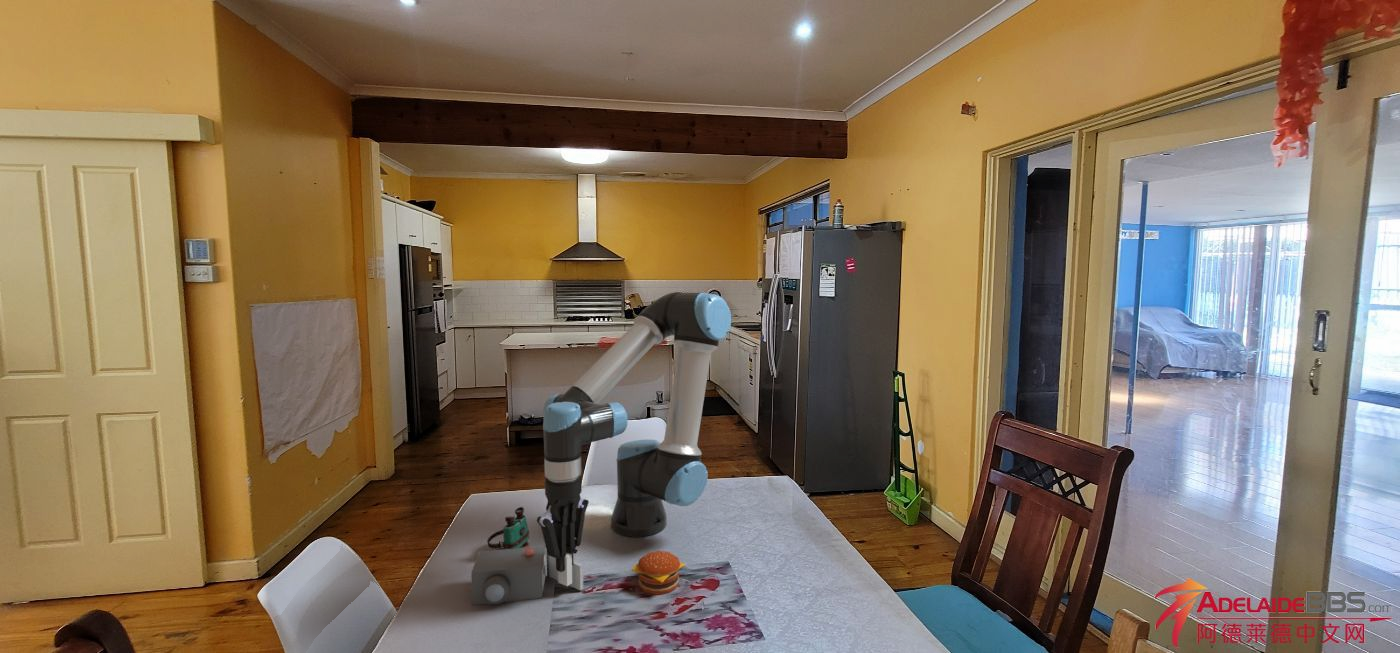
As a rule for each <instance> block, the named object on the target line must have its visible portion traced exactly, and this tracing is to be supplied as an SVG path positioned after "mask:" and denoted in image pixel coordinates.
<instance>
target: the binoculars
mask: <svg viewBox="0 0 1400 653" xmlns="http://www.w3.org/2000/svg"><path fill="white" fill-rule="evenodd" d="M514 513H515V515H516V517H515V516H506V517H504V518H505V519H504V520H505V522H506V525H505V526H503V528H502V529H500V530H498V531H496V532H494V533H493V534H491V535H490V536H489V537H488V538H487V541H486V543H487V547H488V548H490V549H494V550H504V549H516V548H528V547H531V546H530V543H529V542H528V540H529V539H530V530H529V526H528V520H527V516H526V515H525V514H524V513H525V508H524V506H520V507H517V508H516V509H515V510H514ZM500 535H503V541H498V543H490V542H491V541H492V540H493V539H494V538H495V537H498V536H500Z"/></svg>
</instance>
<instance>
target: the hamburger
mask: <svg viewBox="0 0 1400 653" xmlns="http://www.w3.org/2000/svg"><path fill="white" fill-rule="evenodd" d="M686 566H687V565H686V564H685V563H682V562H681V561H680V559H679V557H678V556H676V555H675V554H673V553H671V552H670V551H664V550H663V551H662V550H655V551H650V552H648V553H646V554H644V555H643V556H642V557H640V559H638V563H636V564H635V565H634V566H633V567H632V569H631V570H630V571H632V572H634V573H635V572H636V573H637V575H638V582H637V583H638V586H639V588H640V589H641V591H643V592H644V593H647V594H651V595H665V594H669V593H671V592H673V591H675V590H676V589H677V587H679V585H680V577H679V575H680V569H681V568H683V567H686Z"/></svg>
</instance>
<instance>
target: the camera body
mask: <svg viewBox="0 0 1400 653" xmlns="http://www.w3.org/2000/svg"><path fill="white" fill-rule="evenodd" d="M470 575H471V576H470V577H471V578H470V579H471V603H472V605H484V604H488V605H499V604H501V603H503V602H504V603H505V602H506V603H507V602H514V601H524V600H525V601H526V600H535V599H536V600H537V599H543V597H544V596H543V594H544V588H545V582H546V577H547V564H546V546H543V545H542V546H530V547H528V548H516V549H504V550H497V549H493V550H482V551H479V553H478V555H477V558H476V560H475V563H474V565H473V568H472V570H471V572H470Z"/></svg>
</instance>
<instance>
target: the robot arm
mask: <svg viewBox="0 0 1400 653" xmlns="http://www.w3.org/2000/svg"><path fill="white" fill-rule="evenodd" d="M731 314H732V313H731V310H730V307H729V306H728V304H727V302H726V300H724V298H723V297H722V296H720V295H718V294H714V293H713V294H712V293H709V292H681V291H680V292H679V291H675V292H669V293H667V294H665V295H662V296H661V297H659V298H657V299H656V300H654V301H653V302H651V303H650V304H649V305H647V306H646V307H645V308H644V309H642V311H641V312H640V313H638V315H636V317H635V318H634V320H633V325H632V326H630V328H629V329H627V331H625V333H624V334H623V335H622V336H620V338H619V339H618V340H617V341H616V342H615V343H614V344H612V346H610V347H609V349H608V350H607V351H606V352H605V353H604V354H602V356H601V357H600V358H598V360H597V361H596V362H595V363H594V364H593V365H592V366H591V367H590V368H589V369H588V370H587V371H586V372H585V373H584V374H583V375H582V376H581V377H580V378H579V379H578V380H577V381H575V382H574V384H573V385H572V386H571V387H570V388H569V389H567V391H565V392H564V394H563V393H556V394H554V395H551V396H550V397H549V398H547V400H546V401H545V403H544V405H543V423H542V429H543V448H544V449H543V453H544V477H546V478H545V480H544V494H545V497H546V499H547V503H546V506H545V510H546V511H545V513H544V514H543V515H542V516H537V519H536V522H537V524H538V525H539V526H540V529H541V533H542V536H543V541H544V545H545V551H546V550H547V554H548V555H549V556H551V557H554V558H556V570H557V571H558V580H557V582H558V584H560V585H563V586H565V587H568V586H570V584H572V566H573V563H574V561H575V560H574V554H577V552H578V549H576V548H577V547H580V546H581V545H582V539H583V532H584V525H585V524H584V523H585V517H586V511H587V508H588V506H589V500H588V499H586V498H582V497H581V493H582V488H583V487H582V476H581V475H582V445H586V444H590V443H594V442H598V441H601V440H606V439H611V438H614V437H616V436H619V435H621V434H623V433H625V431H626V430H627V429H628V428H627V427H628V423H629V422H628V413H627V411H626V409H625V407H624V405H622V404H621V403H619V402H606V403H603V404H599V403H600V402H601V401H602V400H603V399H604V397H606V396H607V394H608V393H610V392H611V390H612V389H614V387H615V386H616V385H617V384H618V383H619V382H620V381H621V380H622V379H623V378H624V377H625V376H626V375H627V373H629V371H630V370H631V369H632V368H634V366H635V365H636V364H637V363H638V362H639V361H640V360H641V359H642V358H643V357H644V356H645V355H646V354H647V353H648V351H649V350H650V349H651V348H652V347H654V345H660V344H661V343H662V342H663V341H664V340H665V339H667V338H668V337H672V336H674V337H673V343H675V345H676V347H677V348H678V349H677V350H678V351H677V355H676V361H675V362H676V363H675V368H674V374H673V379H672V380H673V381H672V387H671V392H670V393H671V394H670V399H669V400H670V401H669V408H668V413H667V419H666V426H665V431H664V437H663V440H662V442H660V441H659V440H656V439H637V440H631V441H628V442H624V443H623V444H620V446H619V447H618V448H617V458H616V475H617V476H616V480H617V482H616V483H617V499H616V502H615V504H614V508H613V510H612V514H611V518H610V521H611V522H610V526H611V529H612V531H613V532H615V533H617V534H618V535H620V536H621V535H622V536H625V537H631V538H634V537H635V538H637V537H638V538H639V537H641V538H642V537H648V536H651V535H656V534H657V533H661V532H662V531H663V530H665V529H666V527H667V523H668V522H667V518H668V517H667V512H666V509H665V507H664V504H663V501H664V502H667V504H669V505H675V506H678V507H688V506H691V505H693V504H694V503H695V502H696V501H698V498H700V497H701V496H702V494H703V493H704V491H705V490H706V487H707V483H708V478H709V477H708V476H709V474H708V470H707V467H706V465H705V464H704V463H703V462H701V461H702V459H701V458H702V451H701V449H700V448H699V445H698V440H699V435H700V427H701V421H702V416H703V407H704V401H705V395H706V388H707V382H708V381H707V380H708V375H709V370H710V363H711V358H712V357H711V356H712V353H713V352H714V351H716V350H717V349H718V348H719V343H720V342H719V341H721V340H723V339H725V338H726V337H727V335H728V334H729V332H730V330H731V327H732V326H731V325H732V315H731Z"/></svg>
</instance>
